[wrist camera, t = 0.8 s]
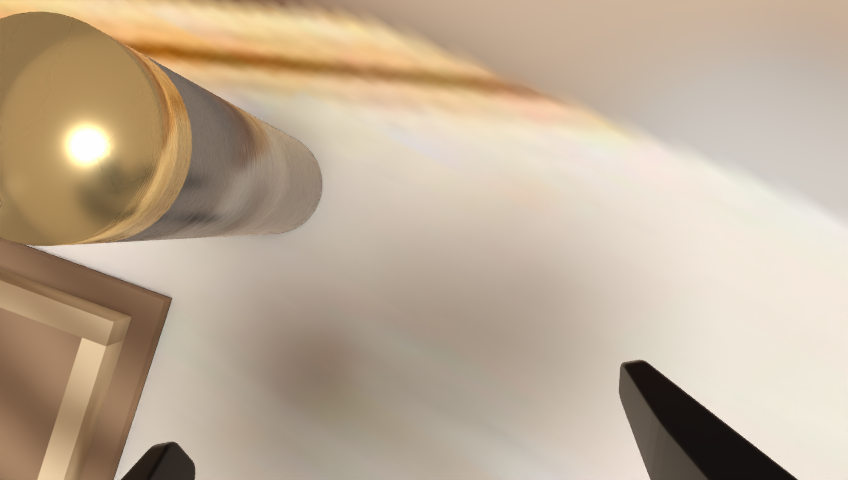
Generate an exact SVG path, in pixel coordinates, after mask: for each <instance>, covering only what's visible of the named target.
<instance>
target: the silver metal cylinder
mask: <svg viewBox="0 0 848 480" xmlns="http://www.w3.org/2000/svg"><path fill="white" fill-rule="evenodd" d="M321 191H322V177H321V172H320V168H319V166H318V163H317V161H316V159H315V158H314V156H313V155H312V153H311V152H310V151H309V150H308V149H307V148H306V147H305V146H304V145H303V144H302V143H300V142H299V141H297V140H295V139H293V138H292V137H290V136H288V135H286V134H284V133H283V132H281V131H279V130H277V129H275V128H274V127H272V126H270V125H268V124H266V123H265V122H263V121H261V120H259V119H258V118H256V117H254V116H252V115H250V114H249V113H247V112H245V111H243V110H241V109H240V108H238V107H236V106H234V105H232V104H231V103H229V102H227V101H225V100H223V99H222V98H220V97H218V96H216V95H214V94H213V93H211V92H209V91H207V90H206V89H204V88H202V87H200V86H198V85H197V84H195V83H193V82H191V81H189V80H188V79H186V78H184V77H182V76H180V75H179V74H177V73H175V72H173V71H171V70H170V69H168V68H166V67H164V66H162V65H161V64H159V63H157V62H155V61H154V60H152V59H150V58H148V57H146V56H145V55H143V54H141V53H139V52H137V51H136V50H134V49H132V48H130V47H128V46H127V45H125V44H123V43H121V42H119V41H118V40H116V39H114V38H112V37H110V36H109V35H107V34H105V33H103V32H102V31H100V30H98V29H96V28H94V27H93V26H91V25H89V24H87V23H85V22H82V21H80V20H78V19H75V18H73V17H69V16H65V15H62V14H57V13H49V12H27V13H21V14H15V15H11V16H8V17H5V18H1V19H0V237H1V238H4V239H6V240H9V241H13V242H16V243H20V244H26V245H33V246H55V245H74V244H92V243H110V242H129V241H147V240H165V239H184V238H202V237H221V236H239V235H257V234H276V233H283V232H287V231H290V230H293V229H295V228H297V227H299V226H300V225H302V224H303V223H304V222H305V221H306V220H307V219H308V218H309V217H310V216H311V215H312V214H313V212H314V211H315V209H316V207H317V205H318V203H319V200H320V197H321Z"/></svg>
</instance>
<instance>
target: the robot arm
mask: <svg viewBox="0 0 848 480" xmlns="http://www.w3.org/2000/svg"><path fill="white" fill-rule="evenodd" d="M619 395H620V399H621V402H622V405H623V407H624V410H625V413H626V416H627V418H628V421H629V424H630V426H631V429H632V432H633V434H634V437H635V440H636V442H637V445H638V448H639V451H640V453H641V456H642V459H643V461H644V464H645V467H646V469H647V472H648V474H649V477H650V479H651V480H798V479H796V478H795V477H794V476H792V475H791V474H790V473H789V472H787V471H786V470H785V469H783V468H782V467H781V466H780V465H778V464H777V463H776V462H774V461H773V460H772V459H771V458H769V457H768V456H767V455H765V454H764V453H763V452H762V451H760V450H759V449H758V448H757V447H755V446H754V445H753V444H751V443H750V442H749V441H748V440H746V439H745V438H744V437H742V436H741V435H740V434H739V433H737V432H736V431H735V430H733V429H732V428H731V427H730V426H728V425H727V424H726V423H724V422H723V421H722V420H721V419H719V418H718V417H717V416H715V415H714V414H713V413H712V412H710V411H709V410H708V409H706V408H705V407H704V406H703V405H701V404H700V403H699V402H697V401H696V400H695V399H694V398H692V397H691V396H690V395H688V394H687V393H686V392H685V391H683V390H682V389H681V388H679V387H678V386H677V385H676V384H674V383H673V382H672V381H670V380H669V379H668V378H667V377H665V376H664V375H663V374H662V373H660V372H659V371H658V370H656V369H655V368H654V367H653V366H651V365H650V364H649V363H647V362H646V361H643V360H635V361H629V362H624V363H622V365H621V367H620V380H619ZM121 480H195V465H194V463H193V461H192V460H191V459H190V457H189V456H188V455H187V454H186V453H185V452H184V450H183V449H182V448H181V447H180V446H179V445H178V444H177V443H176V442H167V443H161V444H157V445H154V446H152V447H151V448H150V449H149V450H148V451H147V452H146V453H145V454H144V455H143V456H142V457H141V458H140V460H139V461H138V462H137V463H136V464H135V465H134V466H133V467H132V468H131V469H130V470H129V472H128V473H127V474H126V475H125V476H124V477H123V478H122V479H121Z"/></svg>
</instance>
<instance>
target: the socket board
mask: <svg viewBox="0 0 848 480" xmlns="http://www.w3.org/2000/svg"><path fill="white" fill-rule="evenodd" d="M171 300H172V299H171V298H169V297H166V296H163V295H160V294H158V293H155V292H152V291H149V290H147V289H144V288H141V287H138V286H136V285H133V284H130V283H127V282H125V281H122V280H119V279H116V278H114V277H111V276H108V275H105V274H103V273H100V272H97V271H94V270H92V269H89V268H86V267H83V266H81V265H78V264H75V263H72V262H70V261H67V260H64V259H61V258H59V257H56V256H53V255H50V254H48V253H45V252H42V251H39V250H36V249H34V248H31V247H28V246H25V245H23V244H20V243H16V242H13V241H9V240H6V239H4V238H1V237H0V480H113V479H114V476H115V473H116V470H117V467H118V464H119V461H120V458H121V454H122V451H123V448H124V445H125V442H126V439H127V436H128V433H129V430H130V427H131V424H132V420H133V417H134V414H135V411H136V408H137V405H138V402H139V399H140V396H141V393H142V390H143V386H144V383H145V380H146V377H147V374H148V371H149V368H150V365H151V362H152V359H153V356H154V352H155V349H156V346H157V343H158V340H159V337H160V334H161V331H162V328H163V325H164V322H165V318H166V315H167V312H168V309H169V306H170V303H171Z"/></svg>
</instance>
